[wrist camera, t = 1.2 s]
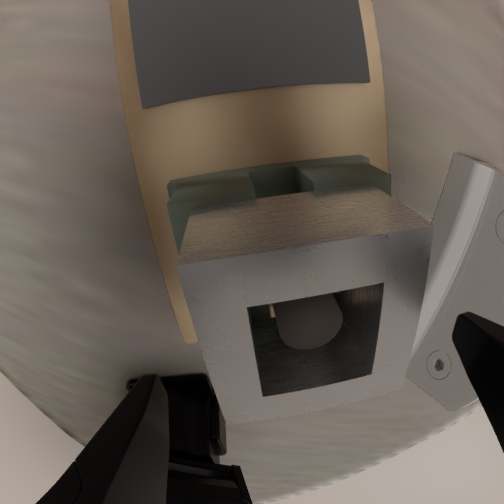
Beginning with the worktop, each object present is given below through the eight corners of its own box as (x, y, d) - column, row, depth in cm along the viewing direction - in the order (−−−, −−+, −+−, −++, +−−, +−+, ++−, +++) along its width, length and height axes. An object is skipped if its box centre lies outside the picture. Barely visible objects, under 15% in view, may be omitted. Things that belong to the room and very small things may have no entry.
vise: (187, 322, 20) (175, 444, 12) (117, -59, 9) (54, -140, 1) (375, 291, 20) (441, 389, 12) (342, -79, 10) (413, -154, 2)
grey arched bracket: (455, 146, 16) (592, 213, 9) (481, 162, 19) (591, 220, 11) (368, 357, 23) (450, 444, 15) (403, 345, 25) (477, 418, 18)
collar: (224, 350, 14) (226, 425, 10) (191, 209, 11) (176, 265, 7) (365, 324, 14) (401, 388, 10) (371, 184, 11) (433, 225, 7)
